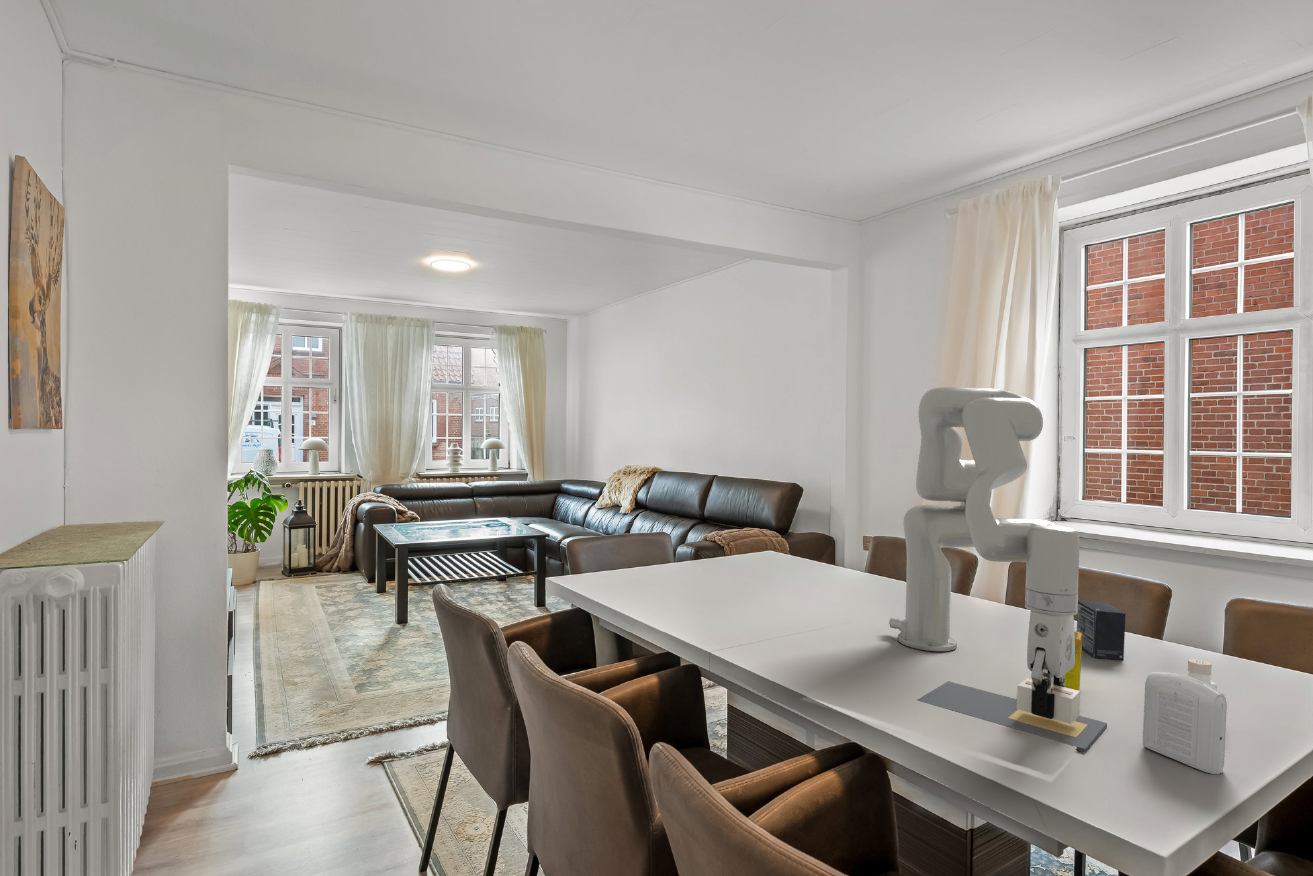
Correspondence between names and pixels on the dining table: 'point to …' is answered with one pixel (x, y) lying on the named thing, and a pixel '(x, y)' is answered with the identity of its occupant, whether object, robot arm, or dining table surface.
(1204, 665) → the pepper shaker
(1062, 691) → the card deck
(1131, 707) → the dining table surface
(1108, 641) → the small box
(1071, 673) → the supplement box
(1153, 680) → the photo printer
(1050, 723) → the mat
